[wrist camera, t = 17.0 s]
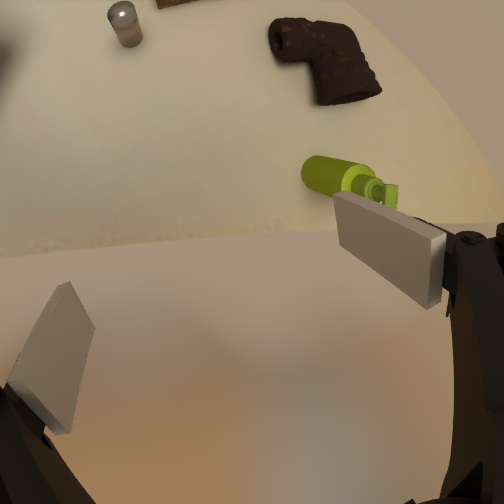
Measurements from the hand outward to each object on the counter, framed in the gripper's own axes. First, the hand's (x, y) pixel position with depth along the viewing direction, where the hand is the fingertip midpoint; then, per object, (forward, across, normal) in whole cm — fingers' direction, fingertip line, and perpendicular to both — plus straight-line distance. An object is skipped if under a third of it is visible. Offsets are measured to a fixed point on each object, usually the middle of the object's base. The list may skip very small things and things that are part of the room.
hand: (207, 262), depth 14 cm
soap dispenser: (+35, +21, -7) cm, 41 cm away
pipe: (+35, +26, +13) cm, 45 cm away
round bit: (+35, -2, +24) cm, 42 cm away
